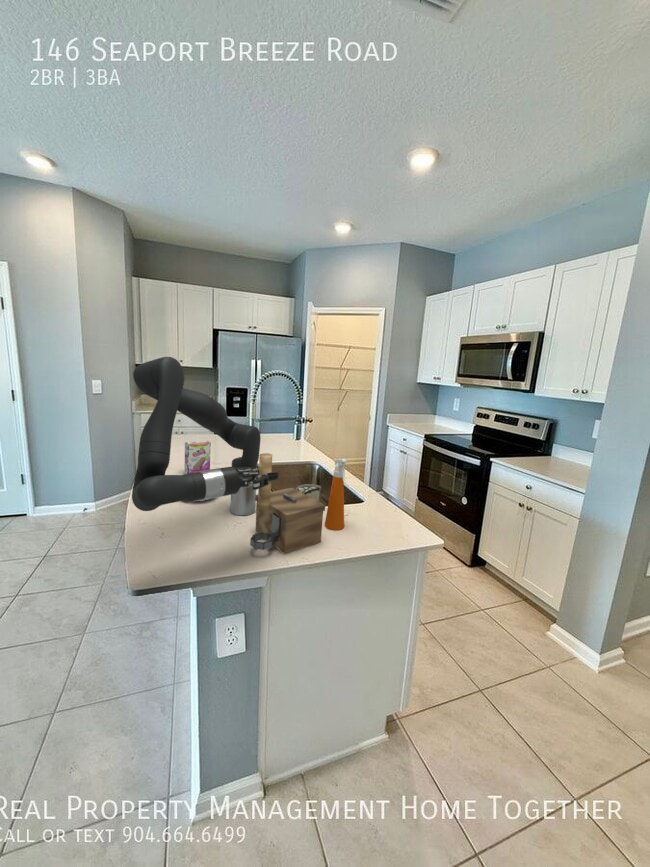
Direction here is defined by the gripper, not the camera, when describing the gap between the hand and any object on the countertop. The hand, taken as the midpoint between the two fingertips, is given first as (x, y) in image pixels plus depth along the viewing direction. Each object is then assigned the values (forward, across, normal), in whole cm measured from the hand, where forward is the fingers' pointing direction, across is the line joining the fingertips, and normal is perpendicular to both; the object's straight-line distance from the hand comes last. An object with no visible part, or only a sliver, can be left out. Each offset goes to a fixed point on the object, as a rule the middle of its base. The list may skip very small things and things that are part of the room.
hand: (273, 473), depth 105 cm
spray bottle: (+27, 0, +25) cm, 37 cm away
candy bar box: (+7, +80, +25) cm, 84 cm away
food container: (+26, +18, +25) cm, 40 cm away
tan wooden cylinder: (-3, 0, +10) cm, 10 cm away
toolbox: (+9, +4, +24) cm, 26 cm away
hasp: (-2, 0, +22) cm, 22 cm away
